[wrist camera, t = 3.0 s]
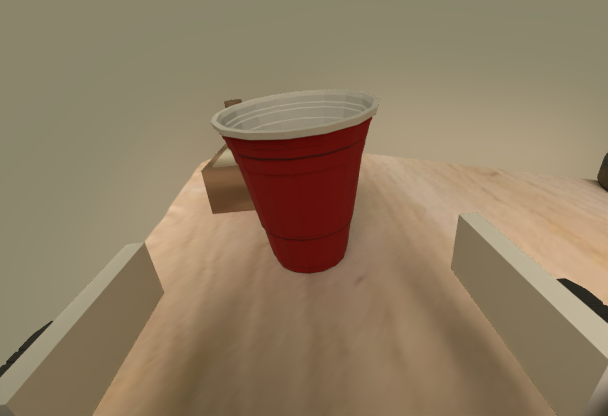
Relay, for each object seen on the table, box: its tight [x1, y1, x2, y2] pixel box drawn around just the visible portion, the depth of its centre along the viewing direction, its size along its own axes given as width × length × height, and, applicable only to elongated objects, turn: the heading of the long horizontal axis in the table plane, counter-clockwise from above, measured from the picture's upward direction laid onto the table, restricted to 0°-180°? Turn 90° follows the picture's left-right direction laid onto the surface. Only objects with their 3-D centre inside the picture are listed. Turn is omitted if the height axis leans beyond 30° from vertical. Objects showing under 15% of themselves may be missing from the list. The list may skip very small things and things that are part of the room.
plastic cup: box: [210, 89, 380, 273], centre depth 22 cm, size 11×11×12 cm
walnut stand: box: [201, 99, 256, 214], centre depth 38 cm, size 16×15×10 cm
